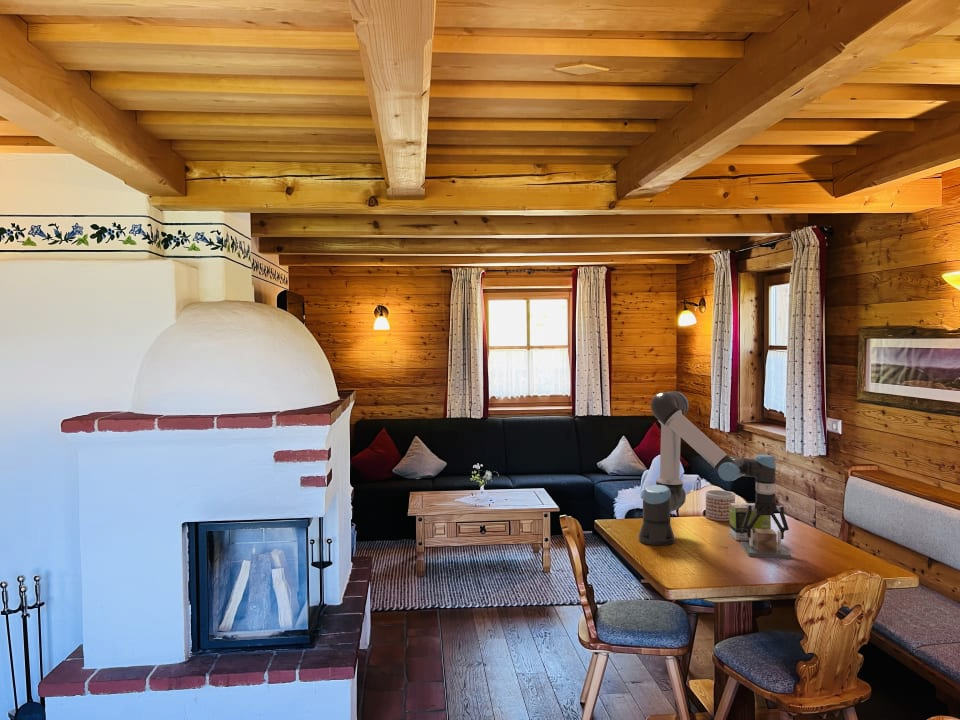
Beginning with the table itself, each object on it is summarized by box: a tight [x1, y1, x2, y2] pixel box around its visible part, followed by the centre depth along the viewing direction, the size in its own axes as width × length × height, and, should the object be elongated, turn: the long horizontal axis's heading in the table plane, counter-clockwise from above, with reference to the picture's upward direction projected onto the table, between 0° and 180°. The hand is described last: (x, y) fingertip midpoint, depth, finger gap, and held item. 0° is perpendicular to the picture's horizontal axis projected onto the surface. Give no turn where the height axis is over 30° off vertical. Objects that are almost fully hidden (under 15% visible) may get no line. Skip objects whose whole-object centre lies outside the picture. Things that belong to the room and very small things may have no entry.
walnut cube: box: [754, 528, 778, 551], centre depth 269 cm, size 7×7×7 cm
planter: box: [705, 489, 736, 523], centre depth 324 cm, size 14×14×13 cm
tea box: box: [729, 502, 772, 542], centre depth 289 cm, size 15×10×15 cm
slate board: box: [740, 541, 792, 560], centre depth 269 cm, size 16×16×2 cm
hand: (765, 546), depth 269 cm, fingers open, 10 cm apart
